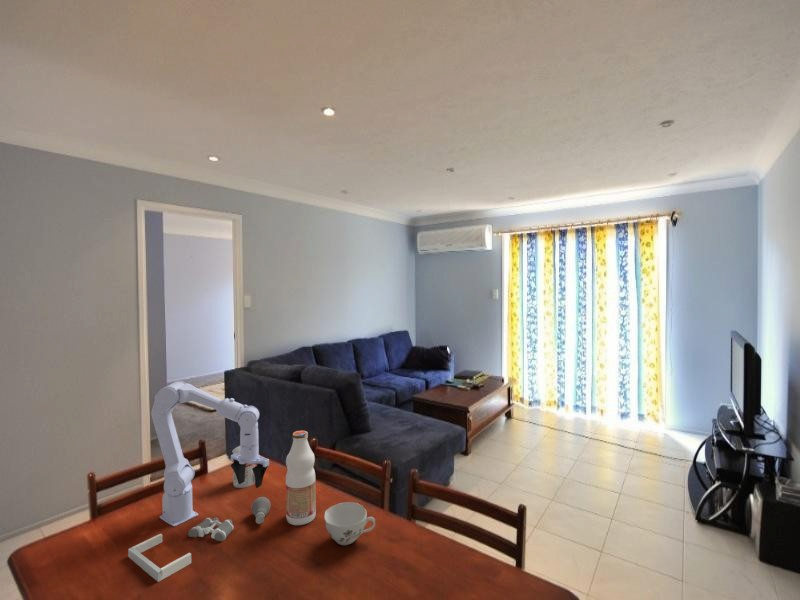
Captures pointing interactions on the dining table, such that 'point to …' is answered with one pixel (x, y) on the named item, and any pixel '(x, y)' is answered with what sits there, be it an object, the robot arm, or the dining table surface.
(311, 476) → the fruit juice
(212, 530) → the binoculars
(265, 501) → the light bulb
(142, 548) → the u-shaped open frame
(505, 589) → the dining table surface
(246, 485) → the french press
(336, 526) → the teacup
